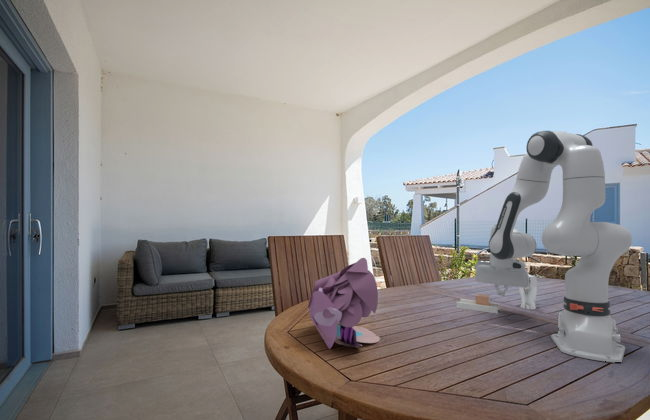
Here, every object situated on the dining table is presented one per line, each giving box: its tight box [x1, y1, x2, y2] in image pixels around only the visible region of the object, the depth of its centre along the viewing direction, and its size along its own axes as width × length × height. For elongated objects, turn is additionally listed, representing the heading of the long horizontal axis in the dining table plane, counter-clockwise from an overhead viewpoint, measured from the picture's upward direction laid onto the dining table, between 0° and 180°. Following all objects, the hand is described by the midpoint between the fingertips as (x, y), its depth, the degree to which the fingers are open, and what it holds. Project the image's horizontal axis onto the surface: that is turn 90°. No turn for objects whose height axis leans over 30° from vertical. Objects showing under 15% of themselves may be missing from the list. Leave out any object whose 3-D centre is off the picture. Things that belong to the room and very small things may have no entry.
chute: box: [456, 298, 501, 314], centre depth 150 cm, size 8×16×4 cm, turn 57°
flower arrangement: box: [307, 257, 381, 350], centre depth 115 cm, size 35×24×28 cm
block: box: [475, 293, 491, 306], centre depth 149 cm, size 5×5×6 cm
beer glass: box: [518, 274, 538, 310], centre depth 152 cm, size 7×7×15 cm
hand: (501, 295), depth 145 cm, fingers closed
